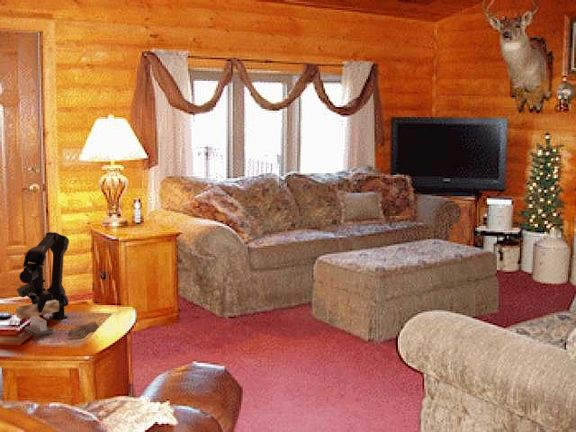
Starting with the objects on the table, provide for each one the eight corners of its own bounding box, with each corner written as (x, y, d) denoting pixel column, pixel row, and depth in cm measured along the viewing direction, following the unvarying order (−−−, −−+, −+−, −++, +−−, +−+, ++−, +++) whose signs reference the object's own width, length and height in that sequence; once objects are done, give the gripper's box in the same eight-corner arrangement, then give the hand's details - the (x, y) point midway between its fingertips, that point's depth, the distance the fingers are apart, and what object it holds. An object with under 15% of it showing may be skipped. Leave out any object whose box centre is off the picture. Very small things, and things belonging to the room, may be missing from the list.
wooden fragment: (80, 341, 311) (80, 338, 310) (57, 339, 313) (57, 336, 313) (107, 323, 335) (107, 321, 335) (86, 321, 338) (86, 319, 338)
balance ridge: (24, 330, 323) (23, 317, 322) (41, 326, 328) (41, 314, 327) (35, 336, 314) (35, 323, 313) (53, 333, 320) (52, 320, 319)
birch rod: (55, 309, 328) (54, 299, 327) (59, 311, 325) (58, 301, 324) (16, 317, 316) (16, 307, 315) (20, 319, 313) (19, 309, 312)
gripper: (10, 276, 319) (11, 310, 321) (27, 284, 305) (29, 320, 308) (34, 272, 326) (35, 305, 329) (52, 280, 313) (54, 315, 315)
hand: (38, 311), depth 320 cm, fingers closed on birch rod, 4 cm apart
